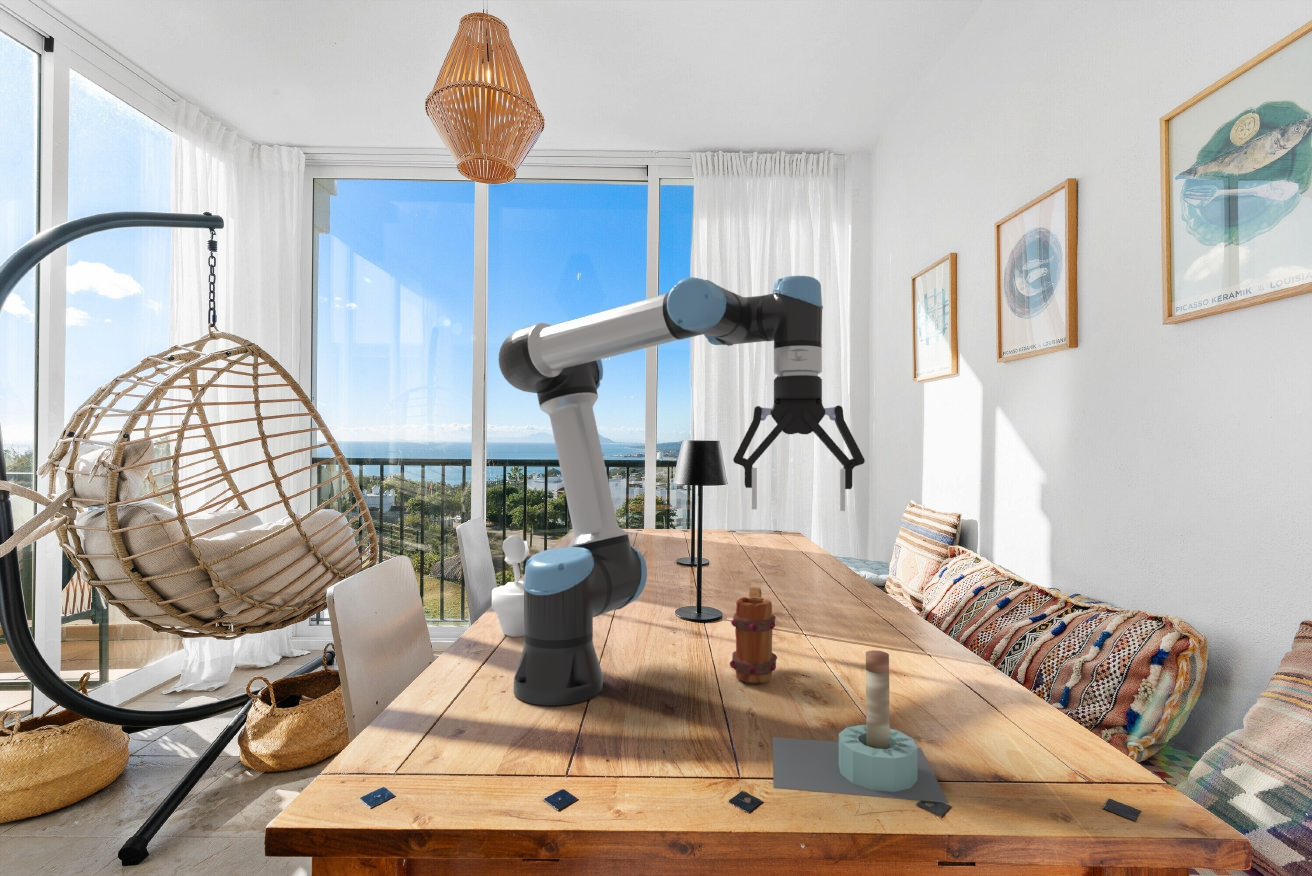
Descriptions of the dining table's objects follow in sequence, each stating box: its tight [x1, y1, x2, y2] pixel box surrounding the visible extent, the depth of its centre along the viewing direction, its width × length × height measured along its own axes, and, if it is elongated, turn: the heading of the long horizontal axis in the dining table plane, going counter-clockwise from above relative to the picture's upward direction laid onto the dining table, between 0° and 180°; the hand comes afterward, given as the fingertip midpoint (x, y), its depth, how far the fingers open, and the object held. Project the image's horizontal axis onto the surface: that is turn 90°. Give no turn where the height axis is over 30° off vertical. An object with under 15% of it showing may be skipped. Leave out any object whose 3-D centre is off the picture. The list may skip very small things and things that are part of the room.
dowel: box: [865, 650, 891, 749], centre depth 84 cm, size 3×3×15 cm
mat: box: [771, 736, 949, 804], centre depth 86 cm, size 20×14×1 cm
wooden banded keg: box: [729, 586, 778, 685], centre depth 121 cm, size 15×8×15 cm, turn 168°
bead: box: [838, 724, 919, 792], centre depth 84 cm, size 9×9×4 cm
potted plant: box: [491, 525, 541, 638], centre depth 148 cm, size 13×12×25 cm
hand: (797, 509), depth 106 cm, fingers open, 13 cm apart
